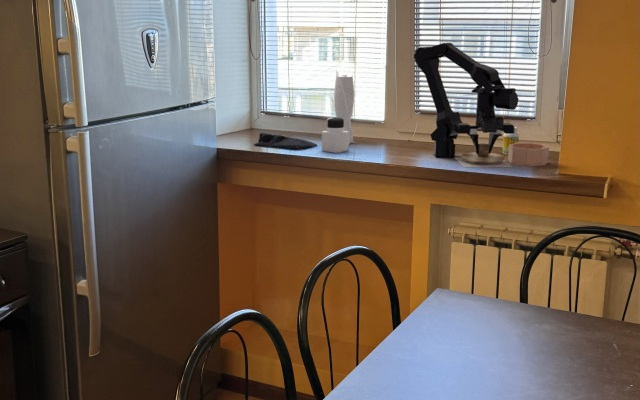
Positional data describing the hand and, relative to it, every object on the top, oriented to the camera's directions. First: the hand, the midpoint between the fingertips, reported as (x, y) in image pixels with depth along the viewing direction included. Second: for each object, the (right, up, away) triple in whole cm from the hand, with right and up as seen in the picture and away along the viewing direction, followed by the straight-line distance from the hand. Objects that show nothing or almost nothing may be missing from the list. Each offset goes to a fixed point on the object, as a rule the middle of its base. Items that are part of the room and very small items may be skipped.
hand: (483, 154), depth 254 cm
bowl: (+15, -3, 0) cm, 15 cm away
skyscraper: (-45, +7, +40) cm, 61 cm away
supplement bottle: (+13, +1, +18) cm, 22 cm away
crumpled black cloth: (-67, +5, +34) cm, 76 cm away
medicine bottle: (-49, +2, +24) cm, 54 cm away
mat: (0, -3, +1) cm, 3 cm away
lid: (0, -1, 0) cm, 2 cm away
